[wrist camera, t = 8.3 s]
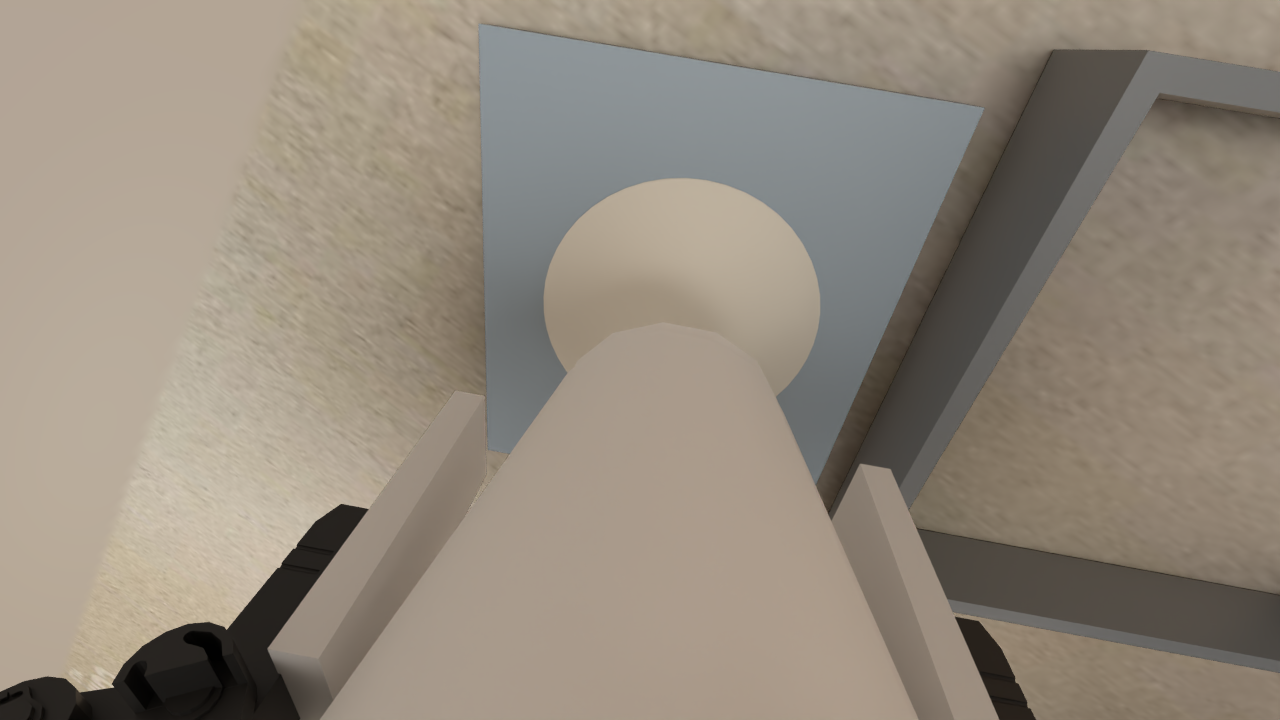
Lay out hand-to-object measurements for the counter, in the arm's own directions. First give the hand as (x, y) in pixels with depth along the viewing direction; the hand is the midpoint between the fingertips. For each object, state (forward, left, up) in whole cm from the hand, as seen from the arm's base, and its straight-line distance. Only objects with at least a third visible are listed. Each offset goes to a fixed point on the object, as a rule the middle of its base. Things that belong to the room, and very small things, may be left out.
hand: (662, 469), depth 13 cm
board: (0, 0, -10) cm, 10 cm away
